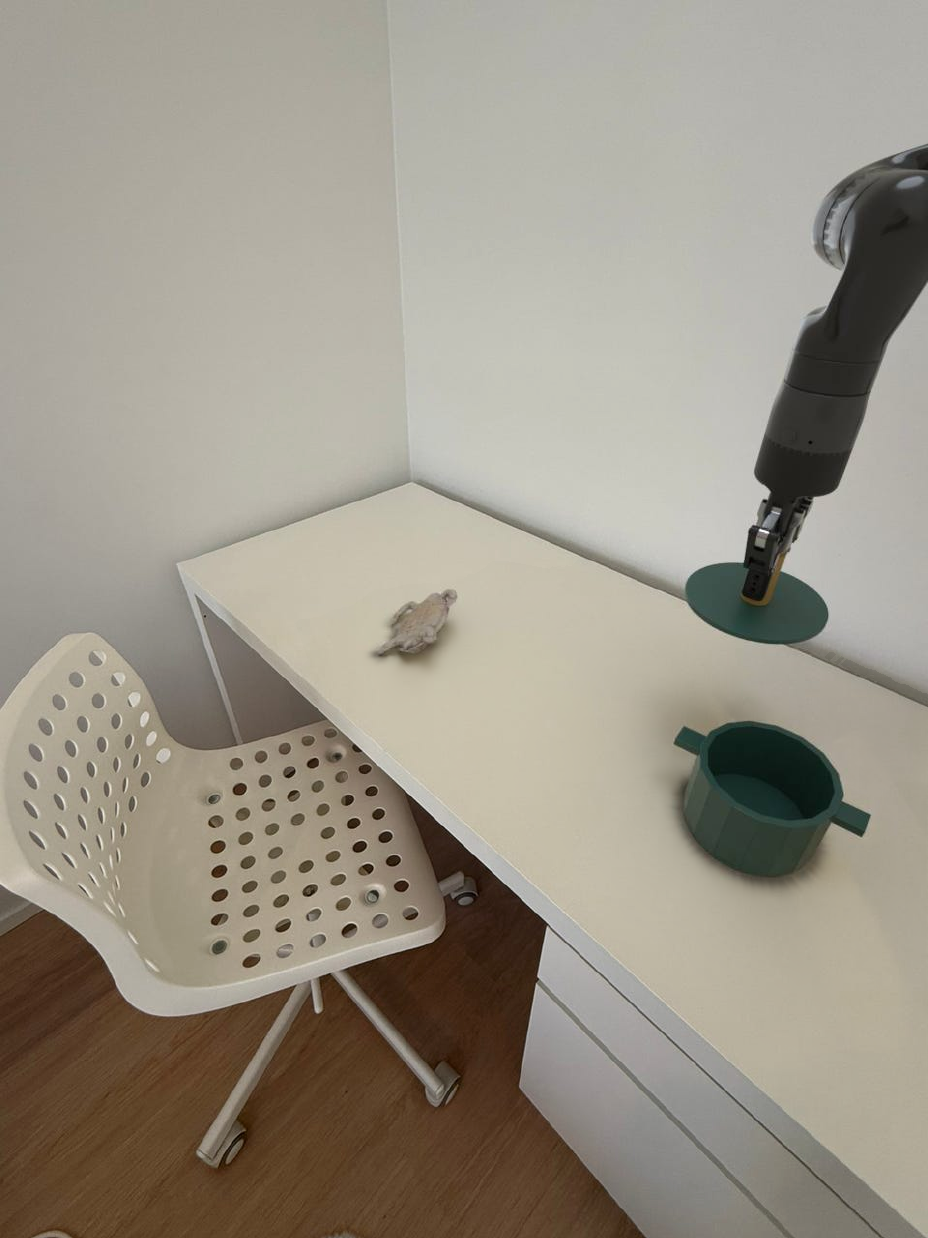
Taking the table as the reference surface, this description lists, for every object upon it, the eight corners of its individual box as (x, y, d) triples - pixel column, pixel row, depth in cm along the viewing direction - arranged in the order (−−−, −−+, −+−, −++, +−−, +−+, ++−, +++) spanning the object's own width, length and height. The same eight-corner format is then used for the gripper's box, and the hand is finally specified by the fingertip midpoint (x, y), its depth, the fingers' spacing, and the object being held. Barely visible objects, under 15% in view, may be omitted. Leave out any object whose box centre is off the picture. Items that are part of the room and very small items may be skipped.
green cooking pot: (689, 743, 80) (704, 693, 75) (855, 824, 71) (886, 773, 66) (640, 816, 72) (653, 765, 66) (822, 919, 62) (854, 870, 57)
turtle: (442, 684, 93) (466, 632, 88) (378, 672, 90) (400, 618, 85) (433, 617, 105) (454, 568, 100) (377, 605, 102) (395, 554, 97)
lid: (713, 557, 79) (727, 504, 75) (841, 600, 72) (865, 544, 67) (660, 612, 70) (674, 555, 66) (801, 669, 63) (826, 609, 58)
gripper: (832, 469, 53) (771, 635, 63) (872, 421, 61) (813, 573, 72) (741, 447, 57) (698, 607, 67) (791, 404, 65) (746, 551, 76)
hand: (758, 589), depth 69 cm, fingers closed on lid, 3 cm apart
